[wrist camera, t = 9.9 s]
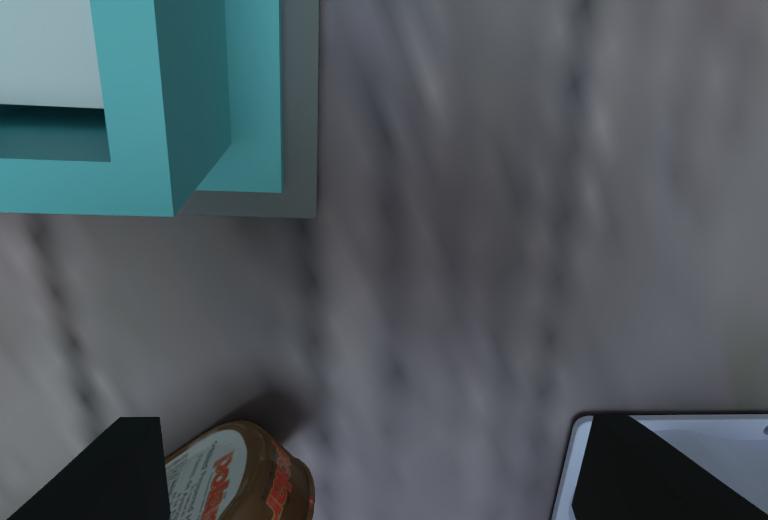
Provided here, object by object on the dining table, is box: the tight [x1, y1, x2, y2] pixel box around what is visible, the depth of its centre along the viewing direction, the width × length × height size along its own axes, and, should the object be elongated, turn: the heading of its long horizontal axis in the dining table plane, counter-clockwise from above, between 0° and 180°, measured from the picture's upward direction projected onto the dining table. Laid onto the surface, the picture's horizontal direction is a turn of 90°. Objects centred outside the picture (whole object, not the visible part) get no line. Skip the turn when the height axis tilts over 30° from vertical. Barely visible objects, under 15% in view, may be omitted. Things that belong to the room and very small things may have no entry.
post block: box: [0, 0, 320, 219], centre depth 13 cm, size 10×10×5 cm
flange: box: [0, 0, 284, 217], centre depth 11 cm, size 8×8×7 cm
